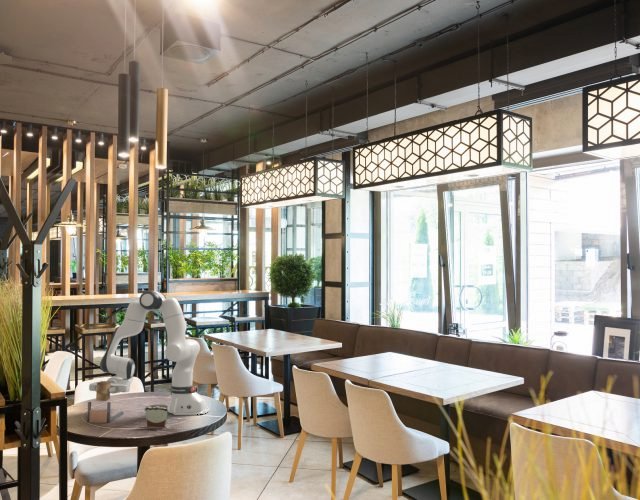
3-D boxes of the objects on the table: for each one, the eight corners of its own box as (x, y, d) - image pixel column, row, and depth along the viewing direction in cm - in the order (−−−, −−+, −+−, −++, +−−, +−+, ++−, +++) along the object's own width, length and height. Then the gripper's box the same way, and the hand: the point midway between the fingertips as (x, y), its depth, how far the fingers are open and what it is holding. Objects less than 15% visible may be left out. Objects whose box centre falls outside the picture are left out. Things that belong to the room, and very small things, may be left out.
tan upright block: (109, 398, 289) (110, 381, 289) (105, 400, 284) (106, 383, 284) (100, 398, 289) (101, 381, 290) (96, 400, 284) (96, 382, 285)
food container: (172, 424, 279) (172, 404, 280) (167, 428, 273) (168, 407, 274) (148, 423, 281) (149, 403, 281) (143, 426, 274) (144, 406, 275)
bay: (123, 414, 298) (124, 395, 298) (109, 423, 280) (109, 403, 281) (102, 413, 299) (103, 394, 299) (86, 422, 281) (87, 402, 282)
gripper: (96, 378, 301) (83, 383, 287) (132, 379, 299) (121, 384, 285) (95, 389, 301) (83, 395, 287) (132, 391, 299) (121, 397, 285)
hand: (102, 390), depth 286 cm, fingers closed on tan upright block, 5 cm apart
